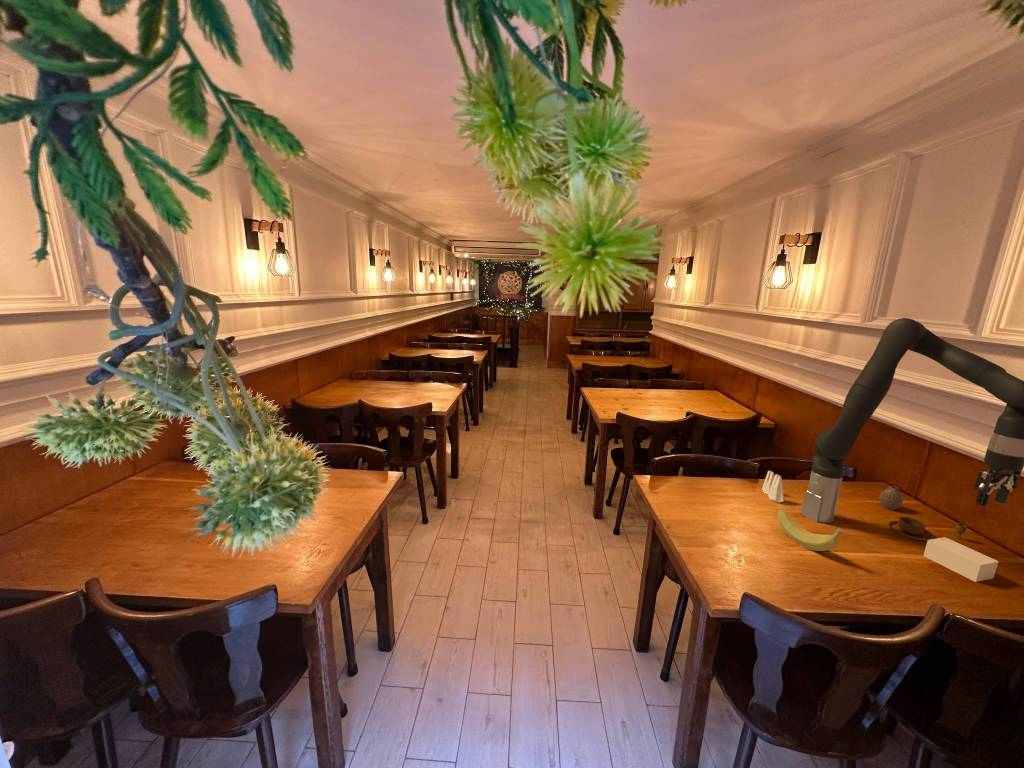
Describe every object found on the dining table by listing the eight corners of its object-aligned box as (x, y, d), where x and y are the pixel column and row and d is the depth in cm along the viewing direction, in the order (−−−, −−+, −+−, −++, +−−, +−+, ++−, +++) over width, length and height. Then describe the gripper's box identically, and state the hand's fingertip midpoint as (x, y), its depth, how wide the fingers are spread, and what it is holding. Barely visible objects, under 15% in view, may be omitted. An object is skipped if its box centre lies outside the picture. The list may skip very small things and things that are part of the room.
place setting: (887, 518, 164) (891, 504, 162) (962, 539, 151) (967, 524, 149) (886, 536, 151) (890, 521, 149) (968, 561, 138) (973, 545, 137)
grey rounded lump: (905, 512, 168) (910, 491, 166) (887, 511, 168) (892, 490, 166) (890, 503, 174) (895, 483, 172) (873, 503, 174) (878, 482, 172)
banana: (795, 549, 147) (856, 549, 130) (784, 551, 145) (843, 551, 128) (783, 508, 152) (839, 502, 134) (771, 509, 150) (827, 504, 132)
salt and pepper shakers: (783, 506, 169) (788, 479, 166) (772, 504, 169) (777, 478, 167) (771, 492, 180) (775, 467, 178) (760, 491, 181) (764, 466, 179)
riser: (975, 583, 126) (980, 565, 125) (923, 557, 138) (927, 540, 137) (992, 579, 128) (998, 561, 127) (940, 553, 141) (944, 537, 139)
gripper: (1008, 457, 116) (991, 512, 120) (1041, 454, 120) (1023, 507, 124) (973, 447, 123) (958, 499, 127) (1005, 444, 127) (989, 495, 131)
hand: (990, 503), depth 125 cm, fingers open, 8 cm apart
